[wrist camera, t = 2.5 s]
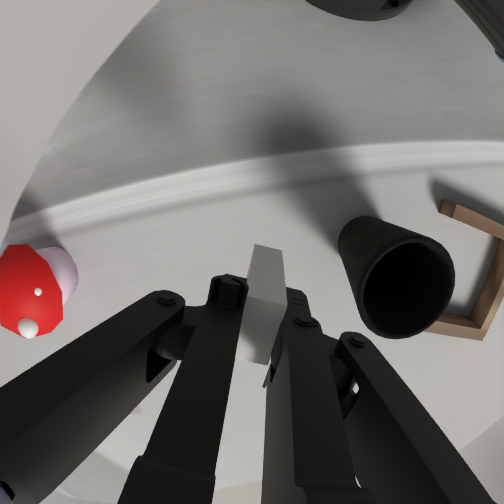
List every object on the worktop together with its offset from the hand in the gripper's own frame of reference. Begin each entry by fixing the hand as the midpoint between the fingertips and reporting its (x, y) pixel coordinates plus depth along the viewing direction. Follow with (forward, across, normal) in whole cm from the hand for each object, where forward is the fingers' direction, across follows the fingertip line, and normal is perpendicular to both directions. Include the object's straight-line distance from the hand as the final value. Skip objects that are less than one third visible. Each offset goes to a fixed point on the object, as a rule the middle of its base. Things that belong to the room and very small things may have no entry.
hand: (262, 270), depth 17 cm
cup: (+14, +10, 0) cm, 17 cm away
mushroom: (+14, -24, -12) cm, 30 cm away
